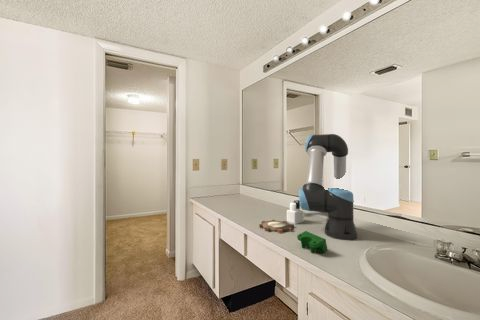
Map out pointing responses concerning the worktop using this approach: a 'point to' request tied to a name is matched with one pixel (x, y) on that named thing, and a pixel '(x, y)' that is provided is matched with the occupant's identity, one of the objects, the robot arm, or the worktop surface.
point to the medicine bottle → (295, 213)
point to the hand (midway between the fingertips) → (302, 206)
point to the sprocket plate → (276, 226)
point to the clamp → (312, 242)
